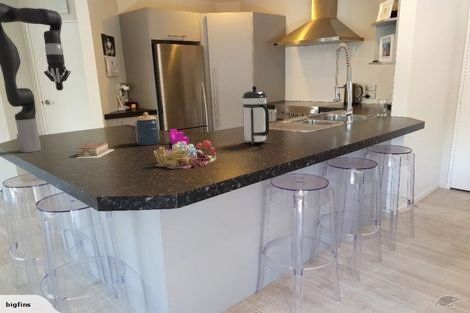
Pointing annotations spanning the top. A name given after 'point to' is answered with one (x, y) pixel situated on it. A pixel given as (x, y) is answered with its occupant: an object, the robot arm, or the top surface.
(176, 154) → the candy landscape model
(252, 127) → the coffee press
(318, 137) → the top surface
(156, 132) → the canister
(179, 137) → the toy block
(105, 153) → the mat
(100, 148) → the birch tile
